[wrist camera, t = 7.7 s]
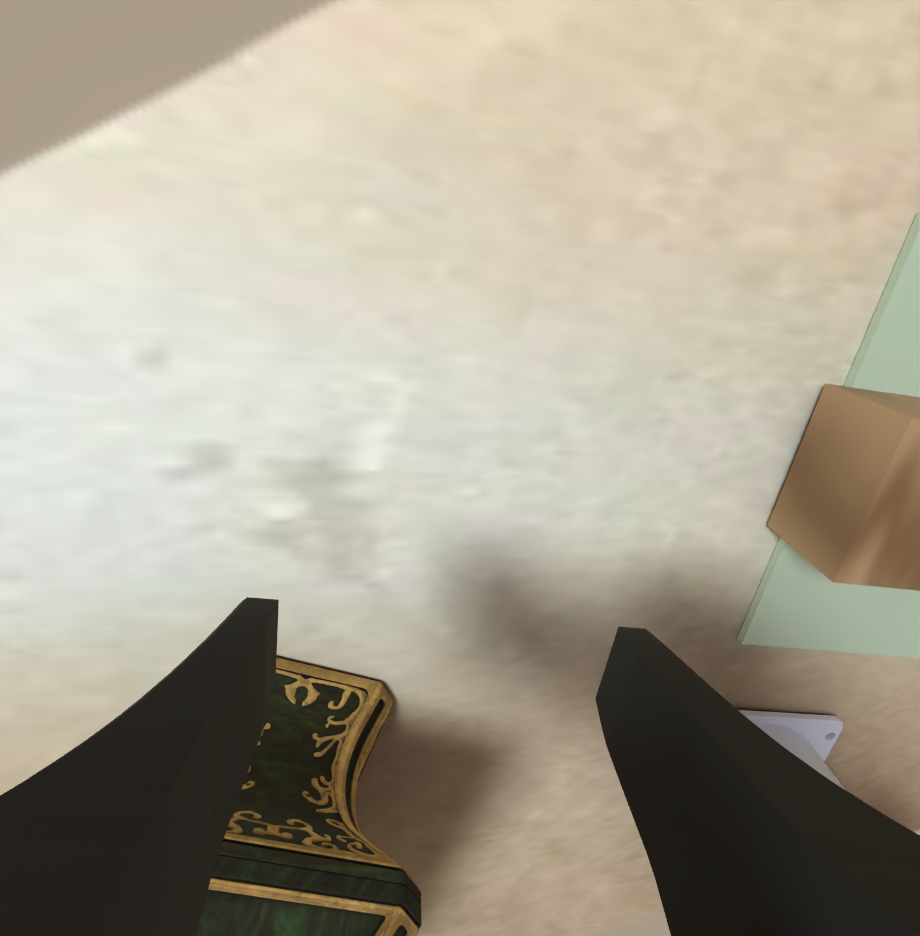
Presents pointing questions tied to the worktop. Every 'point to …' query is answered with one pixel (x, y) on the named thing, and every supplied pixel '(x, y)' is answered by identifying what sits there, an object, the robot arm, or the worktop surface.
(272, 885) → the decorative box
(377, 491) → the worktop surface
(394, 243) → the worktop surface
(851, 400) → the tan rectangular block
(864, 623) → the green pad
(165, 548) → the worktop surface
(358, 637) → the worktop surface
